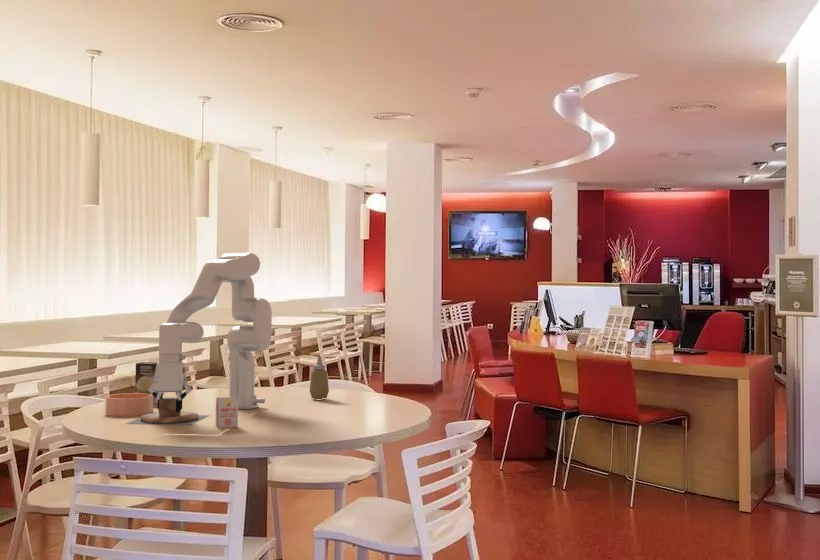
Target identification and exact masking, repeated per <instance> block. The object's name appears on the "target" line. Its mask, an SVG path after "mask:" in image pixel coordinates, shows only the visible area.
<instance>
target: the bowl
mask: <svg viewBox="0 0 820 560" xmlns="http://www.w3.org/2000/svg"><path fill="white" fill-rule="evenodd" d="M104 398H105V399H104V401H105V405H104V413H105V416H106V417H108V416H111V417H112V416H113V417H114V416H115V417H131V416H143V415H146V414H151V413H154V404H153V395H152V394H146V393H135V392H129V393H127V392H126V393H115V394H110V395H106V396H105V397H104Z"/></svg>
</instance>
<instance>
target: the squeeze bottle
mask: <svg viewBox="0 0 820 560" xmlns="http://www.w3.org/2000/svg"><path fill="white" fill-rule="evenodd" d="M310 373H311V376H310V384H309V393H310V396H311V399H312V398H314V399H322V398H326V399H327V398H328V395H329V391H330V389H329V377H328V376H329V375H328V371H327V370H326V365H325V364H323V360H322V356H317V360H316V364H314V365H313V370H312V371H311V372H310Z"/></svg>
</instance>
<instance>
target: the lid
mask: <svg viewBox="0 0 820 560" xmlns="http://www.w3.org/2000/svg"><path fill="white" fill-rule="evenodd" d="M176 401H177V396H176V397H175V396H173V397H172V396H165V397H164V396H163V398H162V399H159V409H158V412H152V413H149V414H143V415H140V418H141V421H142V422H146V423H156V424H168V423H182V422H188V421H193V420H196V419H198V415H199V414H198V413H197V412H193V411H182V410H181V411H180V412H176Z"/></svg>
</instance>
